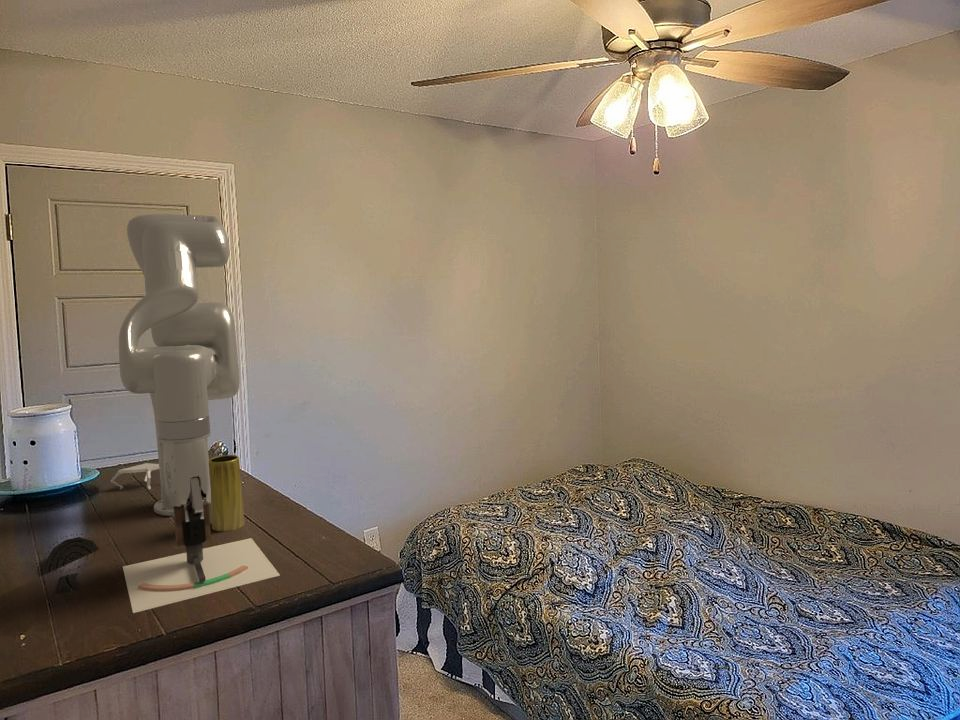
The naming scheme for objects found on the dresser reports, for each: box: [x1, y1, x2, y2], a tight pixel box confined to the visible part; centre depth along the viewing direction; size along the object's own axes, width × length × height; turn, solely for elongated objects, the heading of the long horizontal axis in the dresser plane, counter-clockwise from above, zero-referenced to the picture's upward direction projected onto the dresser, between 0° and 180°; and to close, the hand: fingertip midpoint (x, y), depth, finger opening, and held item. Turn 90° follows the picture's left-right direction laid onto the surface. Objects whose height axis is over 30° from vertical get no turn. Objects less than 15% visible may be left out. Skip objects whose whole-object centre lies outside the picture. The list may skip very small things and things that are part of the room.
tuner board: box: [122, 537, 281, 614], centre depth 102 cm, size 18×20×2 cm
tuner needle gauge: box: [173, 501, 212, 582], centre depth 101 cm, size 11×5×9 cm, turn 30°
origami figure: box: [110, 462, 159, 491], centre depth 151 cm, size 12×8×5 cm
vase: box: [209, 454, 245, 532], centre depth 120 cm, size 6×6×14 cm
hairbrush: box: [42, 533, 100, 596], centre depth 103 cm, size 8×4×25 cm
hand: (192, 540), depth 105 cm, fingers closed on tuner needle gauge, 2 cm apart
